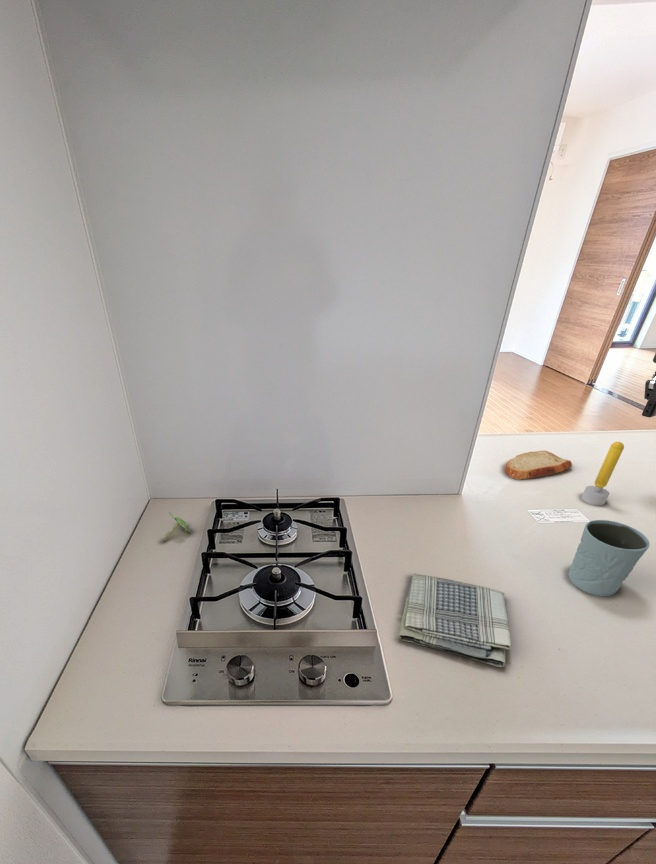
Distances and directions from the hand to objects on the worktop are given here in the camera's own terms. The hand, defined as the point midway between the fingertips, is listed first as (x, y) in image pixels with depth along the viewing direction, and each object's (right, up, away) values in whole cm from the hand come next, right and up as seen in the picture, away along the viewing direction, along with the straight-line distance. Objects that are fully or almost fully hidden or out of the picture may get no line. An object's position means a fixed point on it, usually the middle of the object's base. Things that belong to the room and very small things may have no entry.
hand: (647, 416), depth 109 cm
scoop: (-9, -21, +6) cm, 24 cm away
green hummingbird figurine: (-117, -29, -3) cm, 121 cm away
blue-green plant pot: (-28, -38, -20) cm, 51 cm away
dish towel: (-60, -44, -27) cm, 79 cm away
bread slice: (-15, -12, +21) cm, 28 cm away
